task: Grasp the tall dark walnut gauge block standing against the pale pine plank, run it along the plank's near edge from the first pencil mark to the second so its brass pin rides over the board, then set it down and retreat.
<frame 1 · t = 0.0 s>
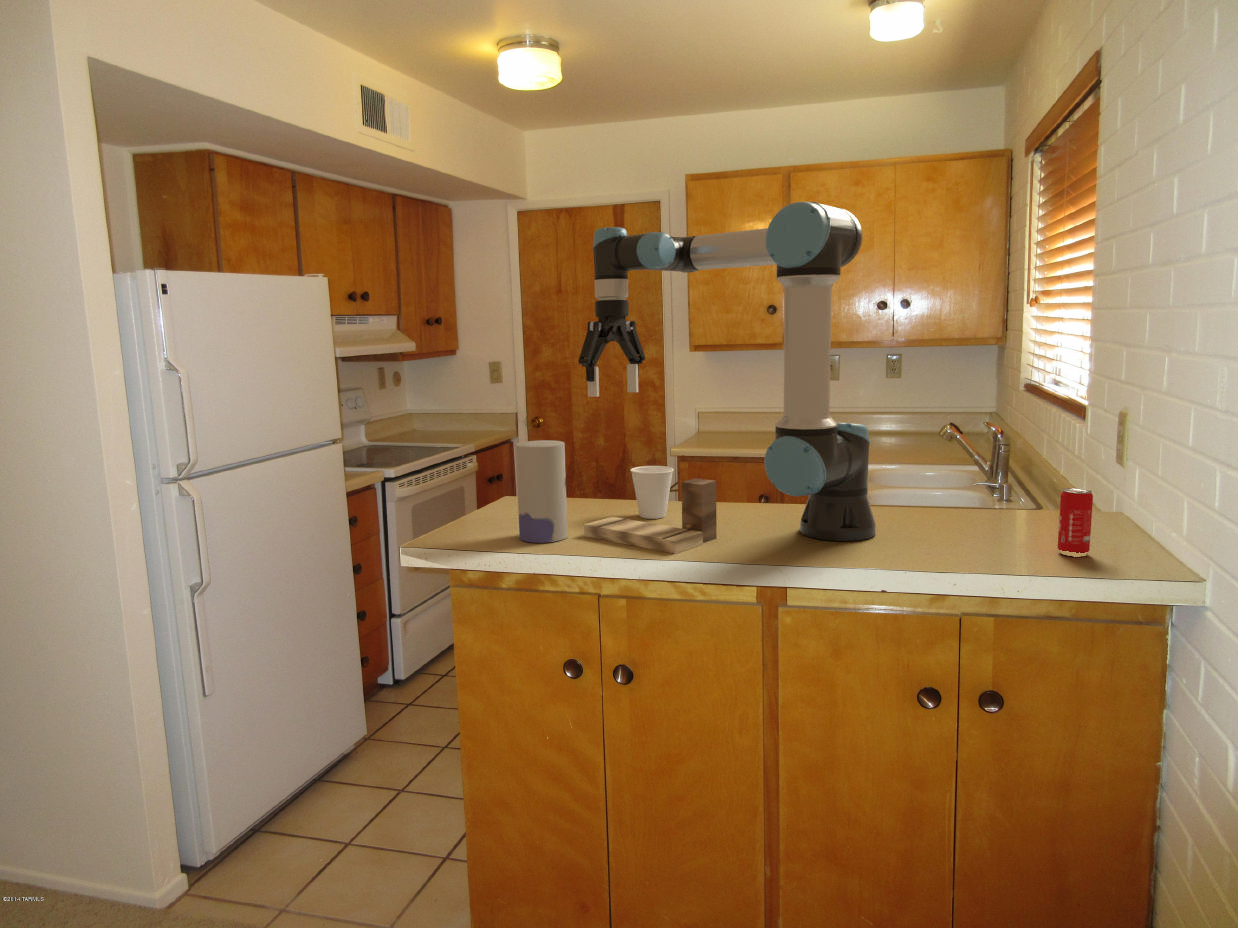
hand: (613, 394, 194), 28 cm above the table, fingers open, 13 cm apart
container: (543, 538, 178), on the table
beverage can: (1072, 555, 157), on the table
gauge: (699, 539, 174), on the table
plank: (642, 539, 174), on the table
cup: (652, 517, 196), on the table
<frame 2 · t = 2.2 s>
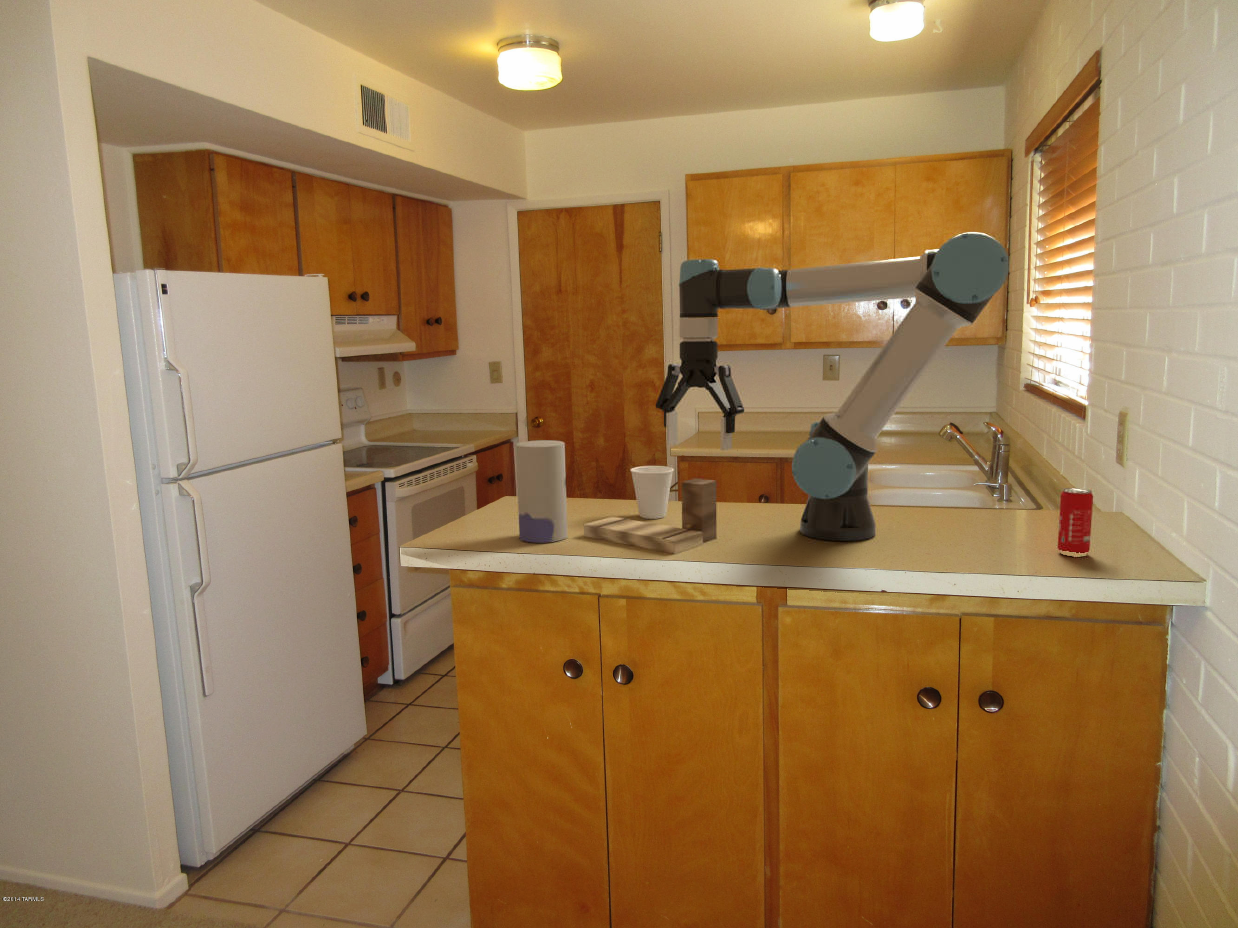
hand: (698, 446, 172), 19 cm above the table, fingers open, 13 cm apart
nothing on the table moved.
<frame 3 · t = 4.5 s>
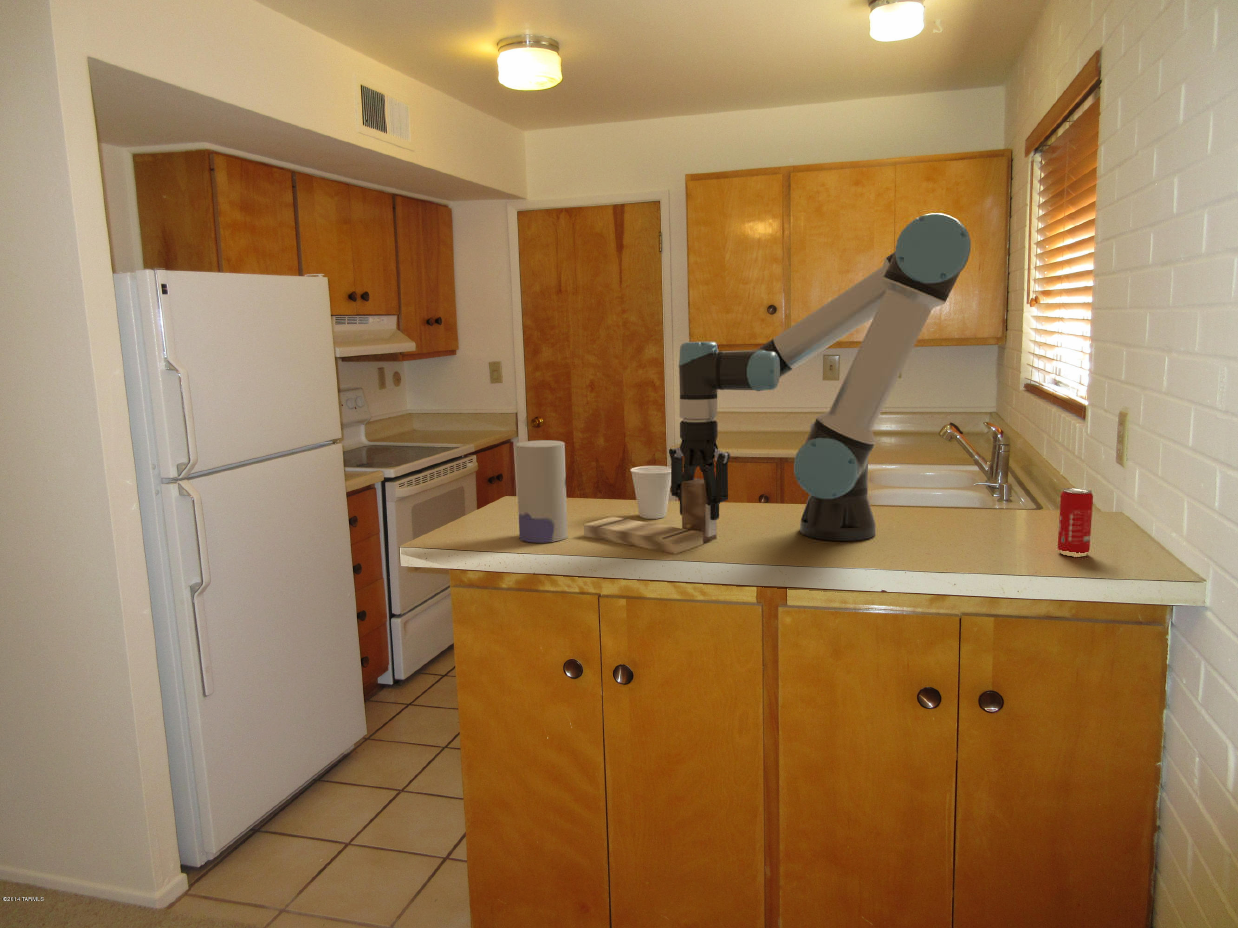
hand: (699, 532, 174), 1 cm above the table, fingers closed on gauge, 5 cm apart
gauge: (699, 539, 174), on the table, touching gripper
everything else where it was.
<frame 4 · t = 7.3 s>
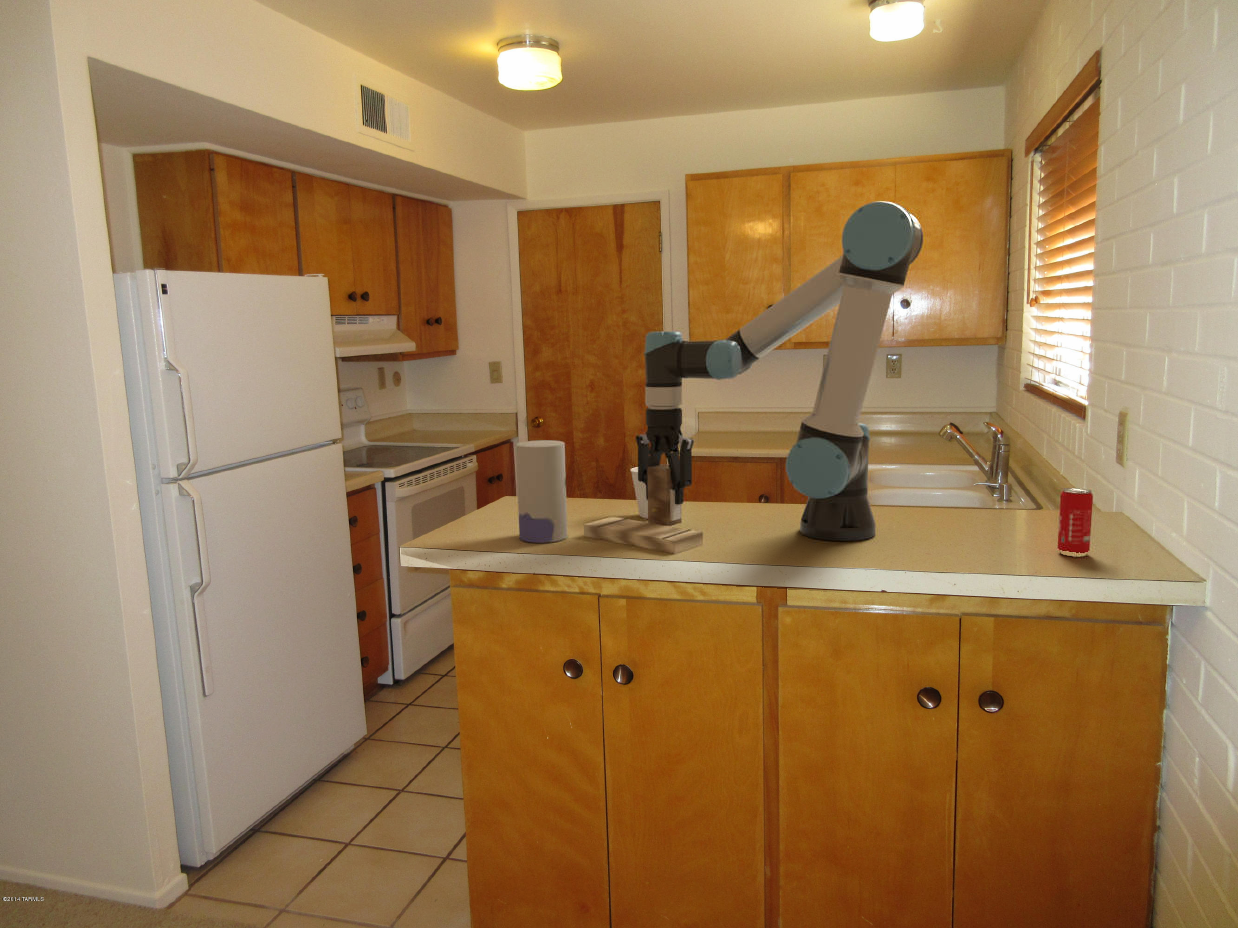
hand: (664, 517, 179), 3 cm above the table, fingers closed on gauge, 5 cm apart
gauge: (664, 523, 179), point 2 cm above the table, touching gripper
everything else where it was.
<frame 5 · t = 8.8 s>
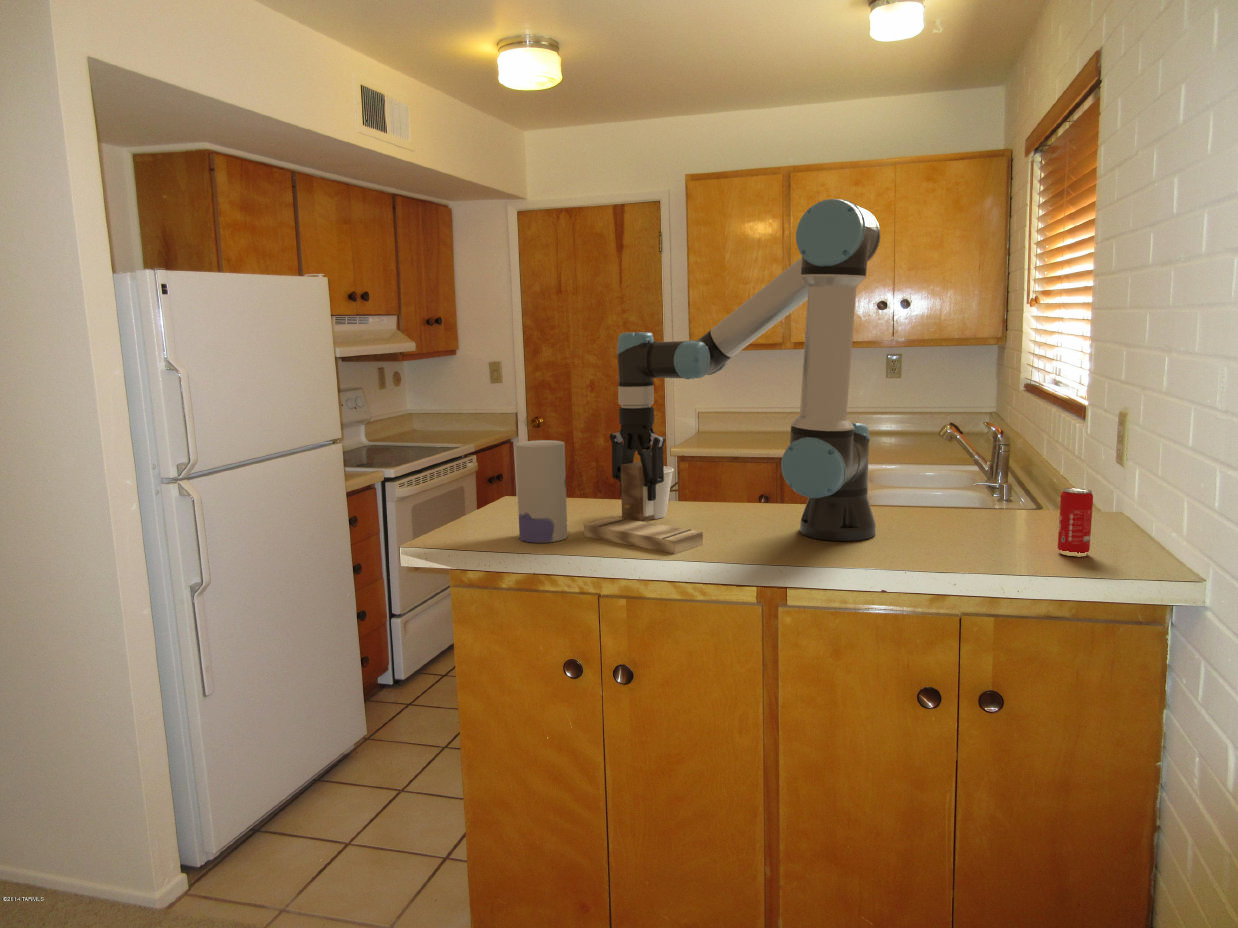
hand: (638, 513, 184), 3 cm above the table, fingers closed on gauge, 5 cm apart
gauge: (638, 519, 184), point 2 cm above the table, touching gripper
everything else where it was.
when the fingers open (2 cm above the table, at t = 10.2 s): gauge stays where it is, on the table.
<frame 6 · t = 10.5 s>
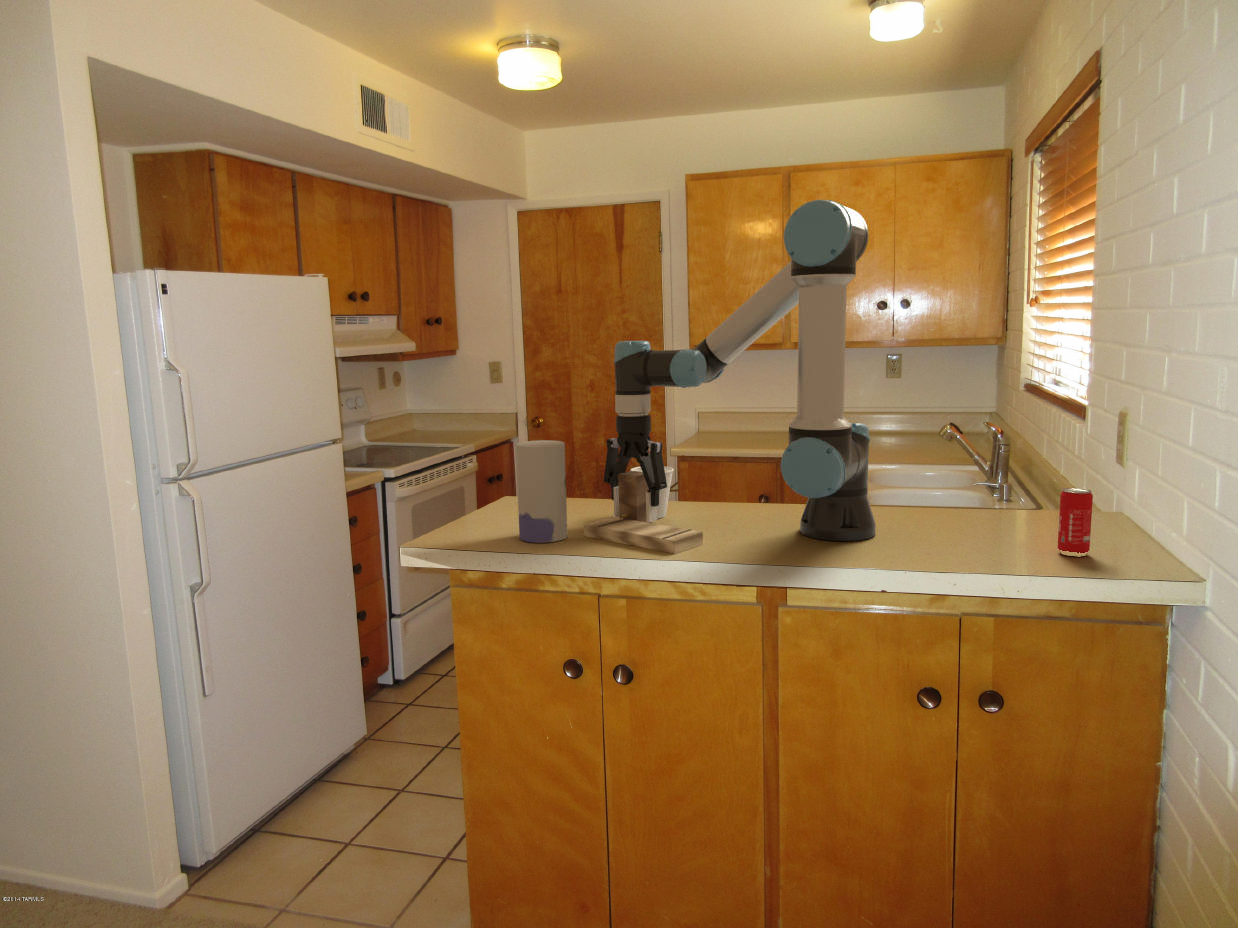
hand: (635, 518, 185), 2 cm above the table, fingers open, 8 cm apart
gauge: (635, 527, 185), on the table
everything else where it was.
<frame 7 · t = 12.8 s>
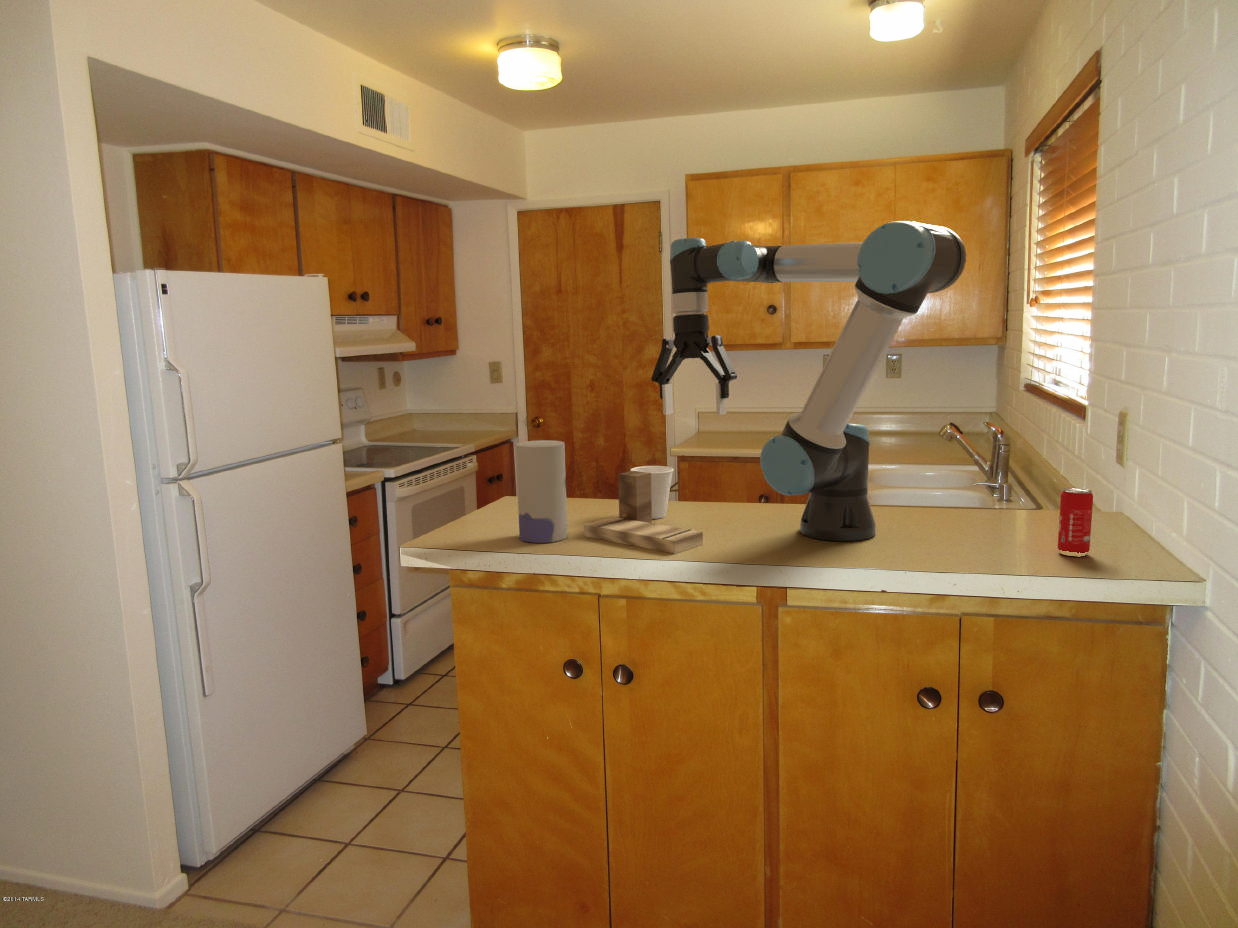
hand: (694, 414, 183), 24 cm above the table, fingers open, 13 cm apart
nothing on the table moved.
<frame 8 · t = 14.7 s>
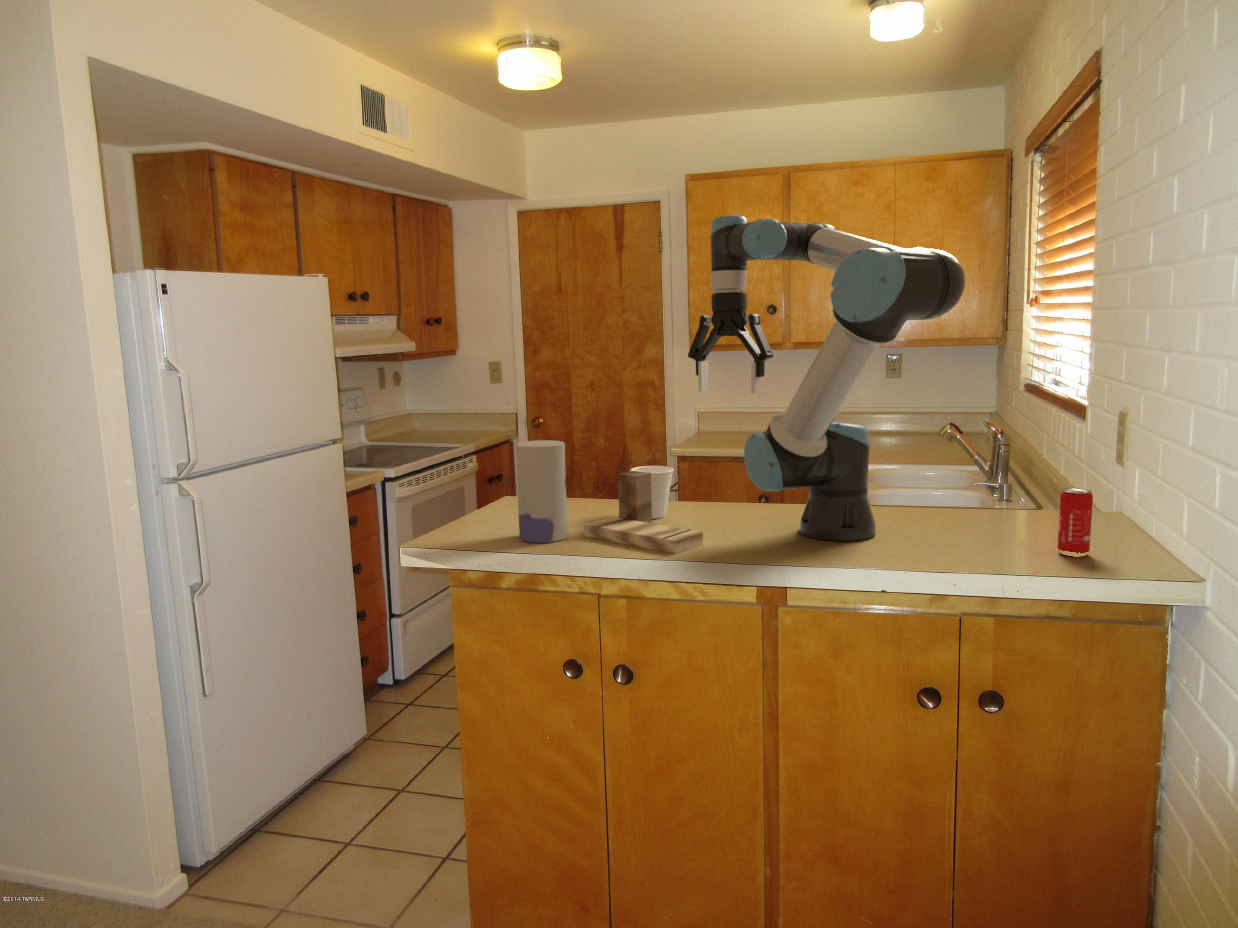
hand: (729, 392, 185), 29 cm above the table, fingers open, 13 cm apart
nothing on the table moved.
at the end: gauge 0.2 cm from the target spot, on the table; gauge tilted 0°; the gripper is holding nothing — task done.
